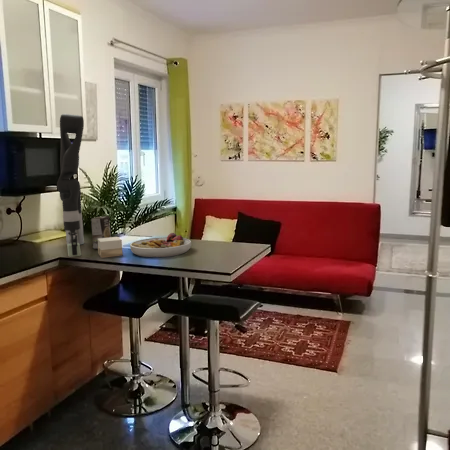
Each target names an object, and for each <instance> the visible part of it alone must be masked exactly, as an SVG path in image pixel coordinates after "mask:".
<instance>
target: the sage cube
mask: <svg viewBox="0 0 450 450" xmlns="http://www.w3.org/2000/svg"><path fill="white" fill-rule="evenodd" d="M73 244H75V243H73ZM77 245H78V246H77V255H73V254H72V247H71V244H67V243H66V248H67V249H66V250H67V255H68V258H70V257H71V258H72V257H73V258H74V257H80V256H82V254H81V245H80V244H79V243H77Z"/></svg>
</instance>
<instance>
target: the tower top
mask: <svg viewBox="0 0 450 450" xmlns="http://www.w3.org/2000/svg"><path fill="white" fill-rule="evenodd" d="M98 247H99V248H100V249H101V250H107V249H117V248H122V249H123V241H122V238H120V237H119V236H111V237H110V238H99V239H98Z"/></svg>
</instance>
